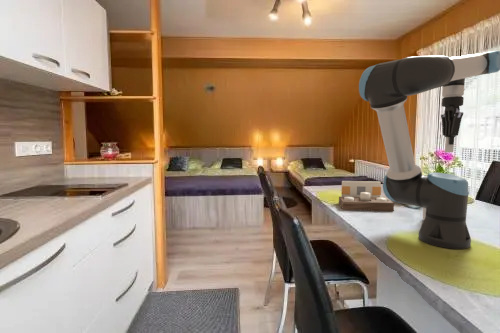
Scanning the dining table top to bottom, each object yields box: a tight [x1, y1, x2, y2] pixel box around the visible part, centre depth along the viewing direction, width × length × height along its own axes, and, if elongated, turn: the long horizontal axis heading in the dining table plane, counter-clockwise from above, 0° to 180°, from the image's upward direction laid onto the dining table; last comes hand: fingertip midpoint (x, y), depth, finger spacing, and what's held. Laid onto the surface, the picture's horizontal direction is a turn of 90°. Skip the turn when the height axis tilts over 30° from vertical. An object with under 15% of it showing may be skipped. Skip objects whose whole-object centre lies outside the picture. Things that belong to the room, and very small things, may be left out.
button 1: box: [376, 196, 388, 201], centre depth 147 cm, size 5×5×4 cm
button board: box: [338, 196, 395, 212], centre depth 148 cm, size 12×24×4 cm, turn 82°
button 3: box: [344, 197, 354, 201], centre depth 149 cm, size 5×5×4 cm
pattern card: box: [340, 180, 382, 198], centre depth 157 cm, size 1×20×12 cm, turn 82°
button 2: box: [360, 192, 370, 201], centre depth 148 cm, size 5×5×4 cm
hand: (448, 152), depth 125 cm, fingers closed
